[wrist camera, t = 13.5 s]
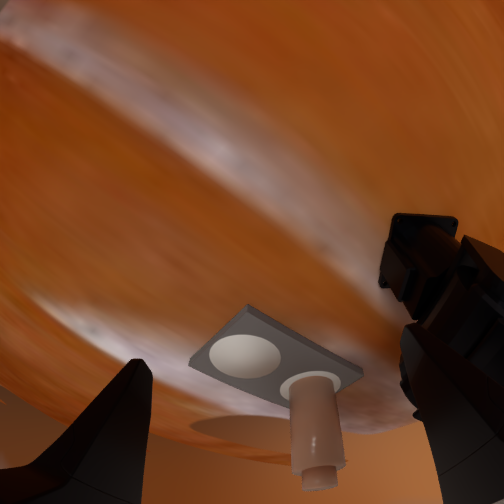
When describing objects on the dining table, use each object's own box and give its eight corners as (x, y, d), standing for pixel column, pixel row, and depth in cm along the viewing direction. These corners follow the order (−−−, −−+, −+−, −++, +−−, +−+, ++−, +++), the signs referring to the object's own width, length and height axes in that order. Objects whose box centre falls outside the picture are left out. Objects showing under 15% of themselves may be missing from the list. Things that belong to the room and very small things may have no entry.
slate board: (190, 358, 27) (188, 366, 26) (247, 303, 23) (246, 312, 22) (300, 406, 32) (300, 412, 31) (362, 368, 27) (364, 376, 27)
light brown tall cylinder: (325, 370, 26) (340, 479, 15) (338, 390, 28) (352, 484, 18) (281, 384, 27) (283, 488, 17) (298, 402, 29) (303, 494, 19)
